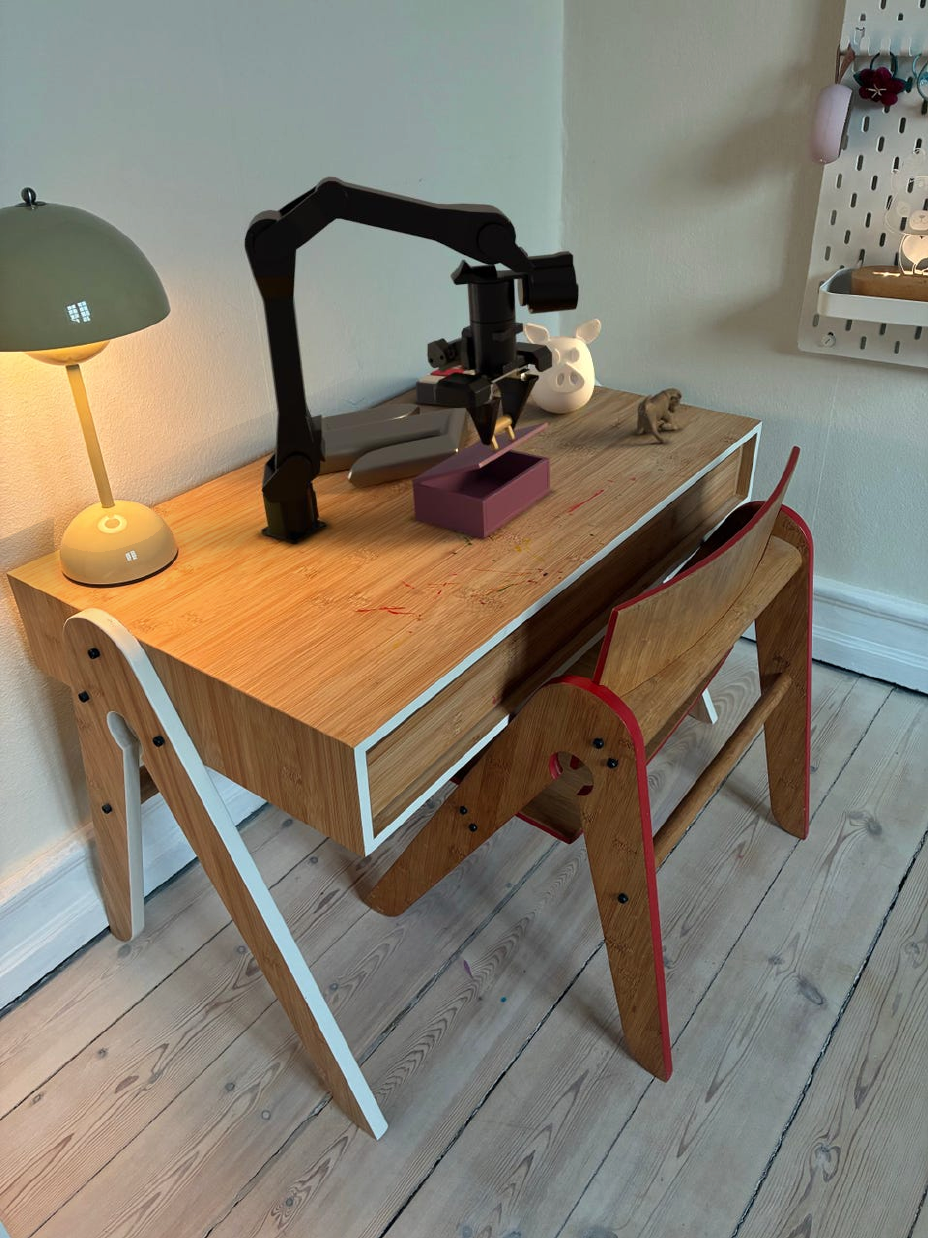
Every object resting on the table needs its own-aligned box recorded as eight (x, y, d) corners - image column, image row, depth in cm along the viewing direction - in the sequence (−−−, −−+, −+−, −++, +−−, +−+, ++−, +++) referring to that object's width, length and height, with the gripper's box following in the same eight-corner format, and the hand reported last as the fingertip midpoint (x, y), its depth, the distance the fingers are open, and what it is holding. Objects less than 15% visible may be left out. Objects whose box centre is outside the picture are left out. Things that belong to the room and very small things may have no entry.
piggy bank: (545, 429, 157) (545, 336, 149) (516, 407, 166) (514, 319, 159) (613, 415, 161) (616, 324, 153) (581, 395, 170) (582, 308, 162)
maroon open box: (550, 492, 137) (549, 457, 134) (484, 538, 125) (482, 502, 123) (483, 476, 142) (482, 443, 140) (415, 519, 131) (412, 484, 129)
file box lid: (548, 425, 131) (538, 397, 130) (480, 468, 120) (468, 438, 119) (482, 442, 140) (473, 416, 138) (412, 483, 129) (401, 455, 127)
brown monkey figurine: (659, 447, 148) (662, 400, 144) (625, 441, 151) (627, 395, 147) (691, 422, 156) (694, 377, 152) (658, 416, 159) (661, 372, 155)
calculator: (507, 362, 176) (471, 384, 164) (507, 386, 178) (472, 409, 166) (453, 357, 180) (414, 378, 169) (454, 380, 182) (416, 402, 171)
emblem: (376, 381, 166) (510, 408, 151) (379, 411, 168) (510, 440, 153) (254, 434, 147) (392, 471, 132) (260, 467, 150) (396, 506, 135)
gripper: (482, 294, 129) (488, 406, 138) (394, 330, 117) (406, 451, 125) (553, 301, 124) (555, 418, 132) (468, 340, 111) (476, 466, 119)
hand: (498, 437), depth 127 cm, fingers closed on file box lid, 5 cm apart
